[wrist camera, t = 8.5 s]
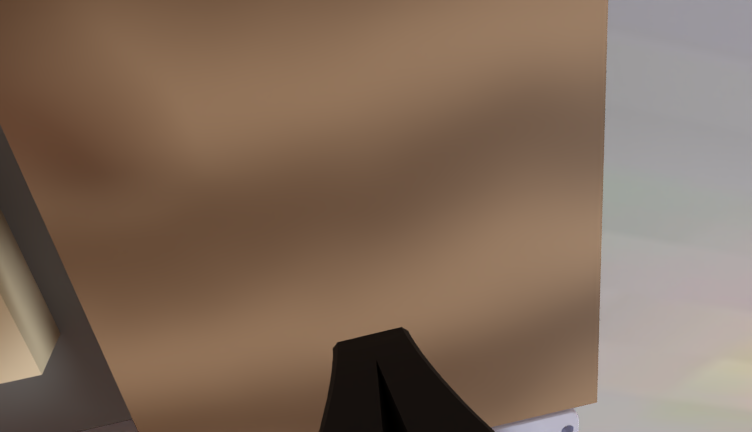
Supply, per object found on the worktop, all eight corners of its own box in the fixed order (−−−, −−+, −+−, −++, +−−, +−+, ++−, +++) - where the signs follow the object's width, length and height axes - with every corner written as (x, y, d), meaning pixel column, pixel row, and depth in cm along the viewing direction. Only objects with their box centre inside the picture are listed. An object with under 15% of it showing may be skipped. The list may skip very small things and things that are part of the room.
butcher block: (548, 328, 24) (596, 402, 21) (183, 411, 23) (170, 503, 20) (536, -237, 16) (615, -273, 12) (-37, -149, 15) (-128, -161, 11)
